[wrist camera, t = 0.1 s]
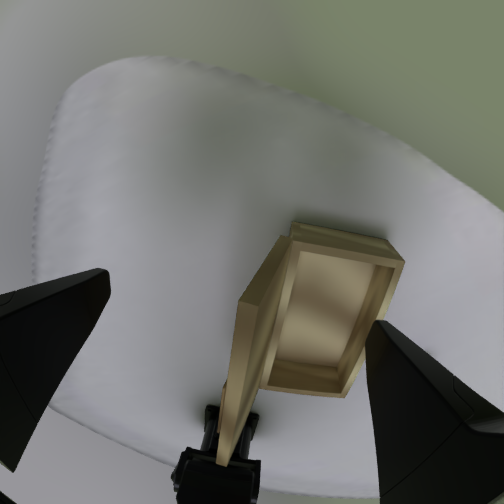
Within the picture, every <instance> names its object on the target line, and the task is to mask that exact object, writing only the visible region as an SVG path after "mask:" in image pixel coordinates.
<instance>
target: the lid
mask: <svg viewBox="0 0 504 504" xmlns="http://www.w3.org/2000/svg"><path fill="white" fill-rule="evenodd" d="M292 241H293V238H291V237H287V236H282V235H280V237H279V239H278V240H277V242H276V243H275V245H274V246H273V248H272V250H271V251H270V253H269V254H268V256H267V257H266V259H265V260H264V262H263V264H262V265H261V267H260V268H259V270H258V271H257V273H256V274H255V276H254V278H253V279H252V281H251V282H250V284H249V285H248V287H247V288H246V290H245V291H244V293H243V295H242V296H241V298H240V299H239V301H238V308H237V315H236V322H235V329H234V336H233V343H232V350H231V357H230V364H229V371H228V378H227V380H226V382H225V384H224V386H223V390H222V397H221V406H220V414H219V422H218V430H217V433H219V432H220V437H219V444H218V451H217V459H216V464H219V465H222V466H225V467H227V465H228V463H229V460H230V458H231V456H232V453H233V451H234V449H235V446H236V444H237V441H238V439H239V437H240V434H241V432H242V429H243V427H244V425H245V422H246V420H247V417H248V415H249V412H250V410H251V407H252V405H253V402H254V400H255V397H256V394H257V392H258V389H259V385H260V381H261V377H262V373H263V369H264V365H265V361H266V357H267V352H268V348H269V344H270V340H271V336H272V332H273V327H274V323H275V319H276V314H277V310H278V306H279V301H280V297H281V292H282V288H283V283H284V278H285V274H286V269H287V265H288V260H289V255H290V250H291V245H292Z"/></svg>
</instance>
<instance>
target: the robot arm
mask: <svg viewBox="0 0 504 504" xmlns="http://www.w3.org/2000/svg"><path fill="white" fill-rule="evenodd" d="M110 295H111V286H110V275H109V272H108V271H107V270H105V269H101V268H95V269H91V270H88V271H84V272H80V273H77V274H73V275H69V276H66V277H62V278H58V279H55V280H51V281H47V282H44V283H40V284H37V285H33V286H30V287H26V288H23V289H19V290H17V291H12V292H9V293H5V294H1V295H0V463H1V464H2V465H3V466H5V467H6V468H7V469H8V470H10V471H11V472H12V473H13V472H14V471H15V470H16V468H17V465H18V463H19V461H20V459H21V457H22V454H23V452H24V450H25V448H26V446H27V444H28V442H29V440H30V438H31V436H32V434H33V432H34V430H35V428H36V426H37V423H38V422H39V420H40V418H41V416H42V414H43V413H44V411H45V409H46V407H47V405H48V403H49V402H50V400H51V398H52V396H53V395H54V393H55V391H56V389H57V388H58V386H59V384H60V382H61V381H62V379H63V377H64V376H65V374H66V372H67V371H68V369H69V367H70V366H71V364H72V362H73V361H74V359H75V357H76V356H77V354H78V353H79V351H80V349H81V348H82V346H83V345H84V343H85V341H86V340H87V338H88V337H89V335H90V334H91V332H92V330H93V329H94V327H95V325H96V323H97V321H98V319H99V317H100V315H101V313H102V311H103V309H104V308H105V306H106V304H107V302H108V300H109V298H110ZM365 356H366V375H367V387H368V393H369V400H370V407H371V414H372V421H373V429H374V437H375V446H376V455H377V466H378V478H379V492H380V497H381V498H380V504H504V412H502V411H501V410H500V409H498V408H497V407H495V406H494V405H493V404H491V403H490V402H488V401H487V400H486V399H484V398H483V397H482V396H480V395H479V394H478V393H476V392H475V391H473V390H472V389H471V388H470V387H468V386H467V385H466V384H465V383H463V382H462V381H461V380H460V379H458V378H457V377H456V376H453V374H452V373H451V372H450V371H449V370H447V369H446V368H445V367H444V366H443V365H441V364H440V363H439V362H438V361H436V360H435V359H434V358H433V357H431V356H430V355H429V354H428V353H427V352H425V351H424V350H423V349H422V348H420V347H419V346H418V345H417V344H415V343H414V342H413V341H412V340H410V339H409V338H408V337H406V336H405V335H404V334H403V333H401V332H400V331H399V330H398V329H396V328H395V327H394V326H393V325H391V324H390V323H389V322H387V321H385V320H375V321H374V322H373V324H372V326H371V329H370V331H369V333H368V336H367V338H366V341H365ZM219 414H220V407H215V406H210V405H208V406H206V409H205V426H204V432H205V434H204V438H203V441H202V445H201V449H200V450H197V449H192V448H191V447H187V448H186V450H185V451H183V452H182V453H181V456H180V459H179V462H178V464H177V466H176V467H175V469H174V471H173V472H172V474H171V479H172V481H173V482H174V484H173V485H174V492H177V495H176V500H177V504H256V502H257V498H258V494H259V487H260V470H261V460H251V459H248V455H249V448H250V441H252V439H253V436H254V433H255V429H256V426H257V423H258V420H259V415H257V414H253V413H249V415H248V417H247V420H246V422H245V425H244V427H243V429H242V432H241V434H240V437H239V439H238V441H237V444H236V446H235V449H234V451H233V453H232V456H231V458H230V460H229V463H228V465H227V467H225V466H222V465H219V464H216V459H217V451H218V444H219V437H220V432H219V433H217V430H218V422H219ZM0 504H16V503H15V502H14V501H13V500H11V499H10V498H9V497H7V496H6V495H5V494H4V493H2V492H1V491H0Z"/></svg>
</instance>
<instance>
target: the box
mask: <svg viewBox="0 0 504 504" xmlns="http://www.w3.org/2000/svg"><path fill="white" fill-rule="evenodd" d="M289 237H291V238H293V241H292V245H291V250H290V255H289V260H288V265H287V269H286V274H285V278H284V283H283V288H282V292H281V297H280V301H279V306H278V310H277V314H276V319H275V323H274V327H273V332H272V336H271V340H270V344H269V348H268V352H267V357H266V361H265V365H264V369H263V373H262V377H261V381H260V385H259V389H265V390H272V391H279V392H286V393H294V394H303V395H312V396H323V397H335V398H345V397H346V395H347V393H348V391H349V389H350V388H351V386H352V384H353V382H354V380H355V378H356V376H357V374H358V372H359V370H360V368H361V366H362V364H363V362H364V360H365V358H366V356H365V341H366V338H367V336H368V333H369V331H370V329H371V326H372V324H373V322H374V321H375V320H383V319H384V316H385V314H386V311H387V309H388V307H389V304H390V302H391V299H392V297H393V294H394V291H395V289H396V286H397V283H398V281H399V278H400V275H401V273H402V270H403V267H404V264H405V261H404V259H403V258H402V257H401V256H400V254H399V253H398V252H397V251H396V250H395V248H394V247H393V246H392V245H391V244H390V243H389V241H388V240H384V239H379V238H375V237H370V236H365V235H360V234H355V233H350V232H345V231H340V230H335V229H330V228H324V227H319V226H314V225H308V224H303V223H298V222H292V224H291V229H290V234H289Z"/></svg>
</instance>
